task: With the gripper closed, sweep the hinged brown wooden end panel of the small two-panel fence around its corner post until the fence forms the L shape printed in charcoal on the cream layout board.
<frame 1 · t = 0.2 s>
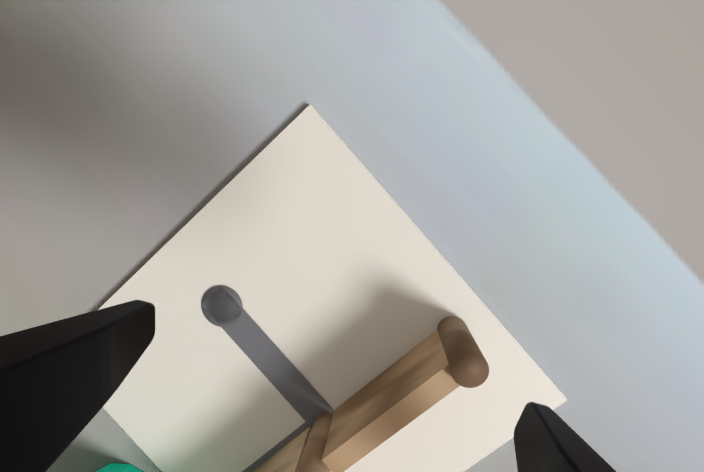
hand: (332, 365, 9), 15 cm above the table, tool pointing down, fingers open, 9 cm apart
fence fixed: (327, 423, 25), resting on layout board
fence gate: (401, 392, 21), point 3 cm above the table, hinge at 0.0°
layout board: (294, 371, 25), on the table
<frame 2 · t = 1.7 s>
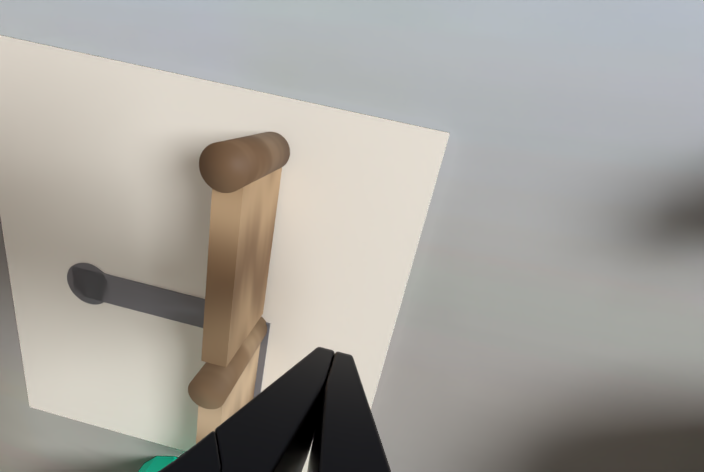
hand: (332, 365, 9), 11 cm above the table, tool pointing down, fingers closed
fence fixed: (253, 326, 22), resting on layout board
fence gate: (242, 247, 17), point 3 cm above the table, hinge at 0.0°
layout board: (194, 298, 23), on the table
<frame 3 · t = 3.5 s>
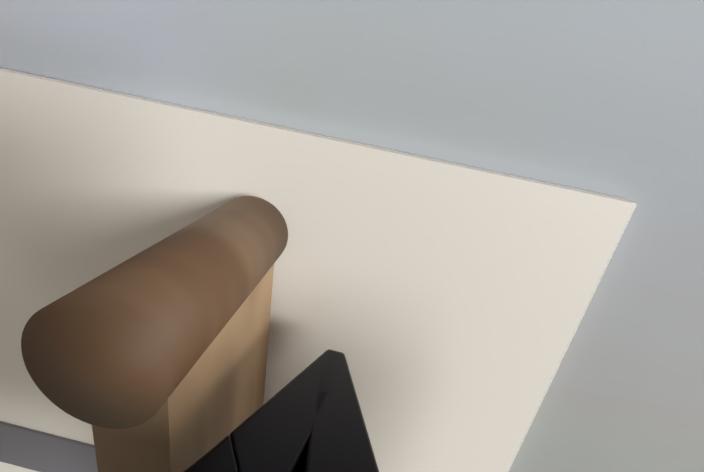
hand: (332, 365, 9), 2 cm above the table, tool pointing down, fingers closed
fence gate: (200, 443, 8), point 3 cm above the table, hinge at 2.7°, touching gripper
layout board: (144, 453, 14), on the table
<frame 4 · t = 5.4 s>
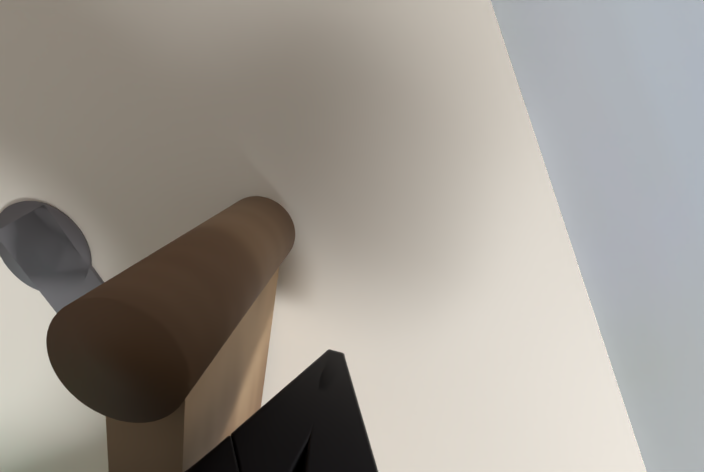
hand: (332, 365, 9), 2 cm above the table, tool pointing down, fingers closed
fence gate: (203, 439, 8), point 3 cm above the table, hinge at 53.6°, touching gripper
layout board: (191, 402, 13), on the table
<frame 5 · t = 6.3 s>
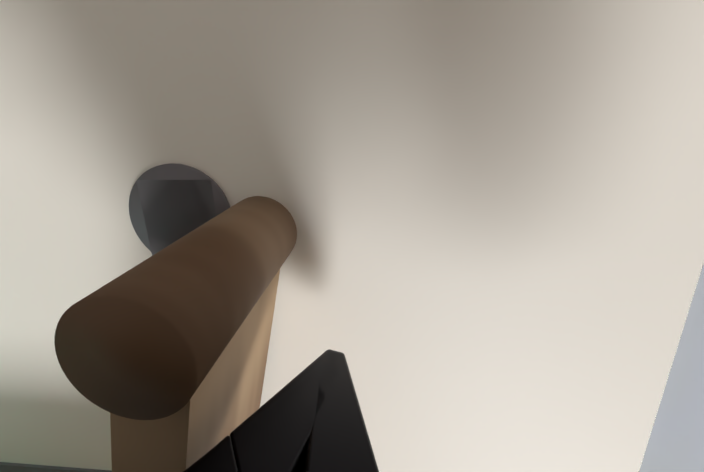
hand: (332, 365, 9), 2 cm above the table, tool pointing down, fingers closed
fence gate: (203, 438, 8), point 3 cm above the table, hinge at 77.5°, touching gripper
layout board: (237, 400, 12), on the table
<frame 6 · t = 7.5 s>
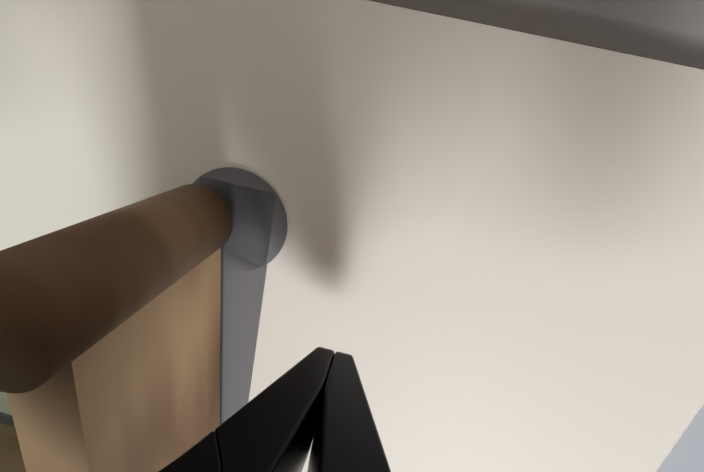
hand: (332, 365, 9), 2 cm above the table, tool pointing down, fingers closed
fence gate: (143, 423, 8), point 3 cm above the table, hinge at 94.4°
layout board: (238, 400, 12), on the table
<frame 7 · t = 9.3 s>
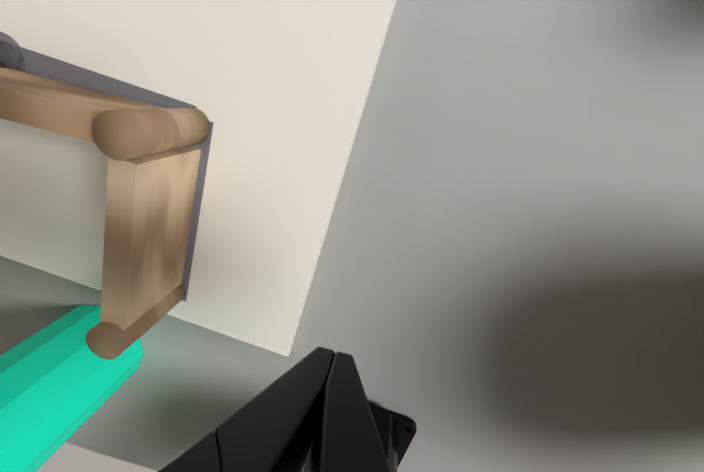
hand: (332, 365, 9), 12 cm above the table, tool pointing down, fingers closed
fence fixed: (193, 125, 19), resting on layout board
fence gate: (23, 96, 16), point 3 cm above the table, hinge at 94.4°
layout board: (128, 91, 19), on the table
candle: (105, 340, 26), on the table
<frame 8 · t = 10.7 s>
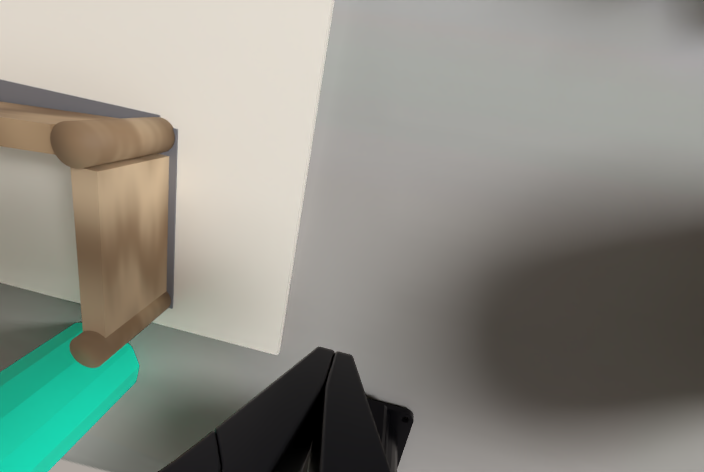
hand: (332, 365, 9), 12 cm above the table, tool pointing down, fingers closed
fence fixed: (160, 134, 20), resting on layout board
layout board: (96, 108, 20), on the table
candle: (102, 356, 26), on the table
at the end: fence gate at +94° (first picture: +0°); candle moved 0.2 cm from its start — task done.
